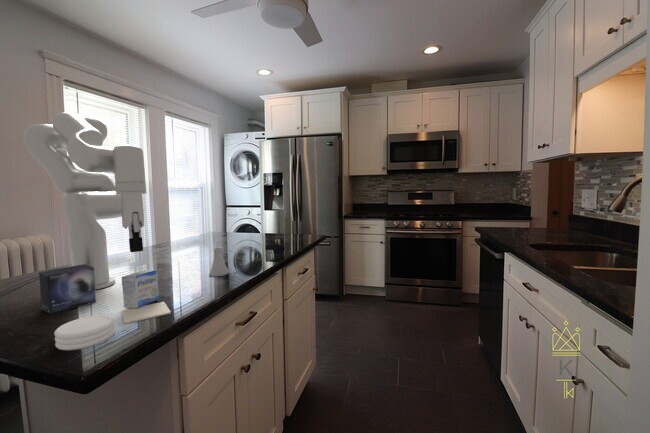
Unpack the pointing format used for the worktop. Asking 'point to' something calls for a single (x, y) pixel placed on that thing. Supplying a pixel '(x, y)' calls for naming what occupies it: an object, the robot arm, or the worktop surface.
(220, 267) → the flask
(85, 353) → the worktop surface
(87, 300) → the small box
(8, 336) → the worktop surface
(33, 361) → the worktop surface
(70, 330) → the coaster
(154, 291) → the medicine box
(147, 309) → the mat
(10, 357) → the worktop surface
